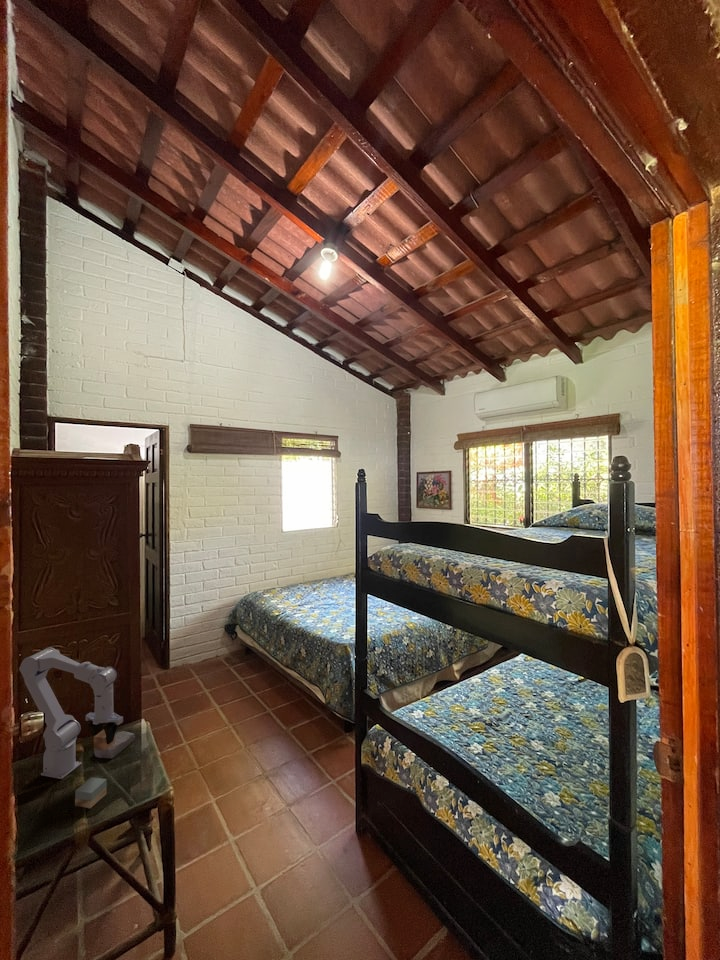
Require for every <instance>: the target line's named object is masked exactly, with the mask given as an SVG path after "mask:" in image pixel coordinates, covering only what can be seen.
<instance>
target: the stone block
mask: <svg viewBox="0 0 720 960" xmlns="http://www.w3.org/2000/svg"><path fill="white" fill-rule="evenodd" d="M135 739H136V738H135V733H133V732H129V731H123V730H122V731H118V732H115V743H114V744H113V745H111V746H110V747H109V748H107V749H106V750H105V751H102V750H95V749H94V748H93V751H94V757H95V758H99V759H102V758H103V759H111V760H112V759H115V757H116V756H118V755H119V754H120V753H121V752H122V751H123V750H125V749H126V748H127V747H128V746H130V745H131V744H132V743H133V742H134V741H135Z"/></svg>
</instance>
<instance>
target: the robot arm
mask: <svg viewBox="0 0 720 960" xmlns="http://www.w3.org/2000/svg"><path fill="white" fill-rule="evenodd" d="M52 668H54V669H57V670H61V671H64V672H68V673H70V674H71V673H72V674H73V677H74V679H76V680H79V681H81V682H85V683H87V684H89V686H90V687H91V689H92V690H93V694H94V712H89V713H87V714H86V715H85V721H86V722H88V721H90V723H88V724H87V728H88V729H89V730H90V732H91V733H92V736H93V738H94V736H95V735H97V734H98V733H100V732H101V731H102V730H104V731H105V734H106V742H107V744H110V743H111V742H112V741H113V739H114V735H115V733H117V732H116V731H117V729H118V728H119V725H121V724H122V723H123V722H124V716H121V715H119V714H117V713H116V712H114V682H115V680H116V679H117V676H118V673H117V671H116V669H115V668H114V667H113V666H106V667H104V666H103V667H102V666H98V665H96V664H93V663H92V662H91V661H85V662H81V663H80V662H78V661H76V660H74V659H71V658H70V657H68V656H65V655H63V654H61V652H60V650H59V649H55V648H54V647H52V646H51V647H45V648H44V649H43V650H41V651H38V652H36V653H34V654H32V655H30V656H28V657H25V658H24V659H23V660H22V662H21V664H20V666H19V668H18V669H19V672H20V673H21V676H22V678H23V680H24V685H25V686H26V688H27V690H28V692H29V693H30V696H31V698H32V699H33V702H34V704H35V706H36V707H37V709H38V711H39V712H40V711H42V712H44V713H45V721H44V722H45V724H46V727H45V730H44V732H43V735H42V737H43V739H44V746H45V748H46V749H45V751H44V753H43V757H42V758H43V762H42V763H43V766H42V769H43V772H41V773H40V775H41V776H43V777H49V778H54V779H59V780H61V779H64V778H65V777H66V776H68V775H69V774H71V772H73V771H75V769H78V767H80V766H82V764H83V763H82V762H81V761H76V745H77V744H76V740H77V739H78V735H79V734H80V732H81V730H82V728H81V724H80V723H79V721H77V720H76V719H75V717H74V716H73V715H71V714H65V712H64V710H63V709H62V706H61V705H60V703H59V701H58V698H57V697H56V695H55V693H54V691H53V689H52V688H51V686H50V683H49V682H48V680H47V678H46V677H47V675H48V672H49V671H50V669H52ZM105 723H106V725H104V724H105Z"/></svg>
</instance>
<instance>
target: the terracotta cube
mask: <svg viewBox="0 0 720 960" xmlns="http://www.w3.org/2000/svg"><path fill="white" fill-rule="evenodd" d="M114 743H115V735H114V739H113V741H112V742H111V743H110V744H107V742H106V734H105V731H104V729H103V730H102V731H101V732H100V733H98V734H97V735H95V736H94V737H93V750H94V749H95V750H102V751H105V750H106V749H107V748H109V747H110V746H111V745H113V744H114Z"/></svg>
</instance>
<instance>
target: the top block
mask: <svg viewBox="0 0 720 960" xmlns="http://www.w3.org/2000/svg"><path fill="white" fill-rule="evenodd" d="M107 781H108V780H107V778H100V777H92V776H91V777H90V778H89V779H87V780H86V781H85V782H84V783H83V784H82V785H80V786H79V787H78V788H76V790H75V791H74V792H75V793H74V794H75V796H74V800H75V799H81V800H89V801H92V800H93V799H94V798H95V797H96V796H97V795H98V794H99V793H100V792H101V791H103V790H104V789H105V788H106V789H107V787H108V786H107V785H108V784H107V783H108V782H107Z"/></svg>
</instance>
